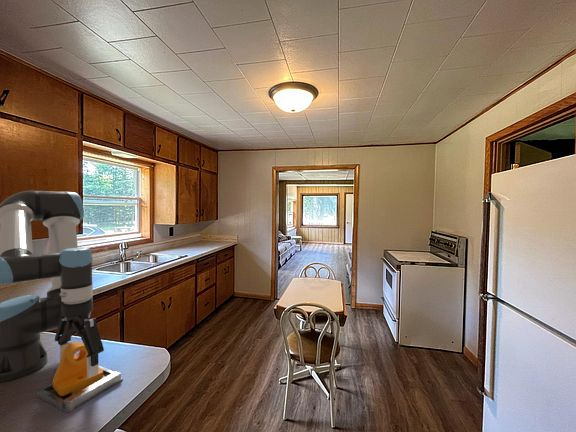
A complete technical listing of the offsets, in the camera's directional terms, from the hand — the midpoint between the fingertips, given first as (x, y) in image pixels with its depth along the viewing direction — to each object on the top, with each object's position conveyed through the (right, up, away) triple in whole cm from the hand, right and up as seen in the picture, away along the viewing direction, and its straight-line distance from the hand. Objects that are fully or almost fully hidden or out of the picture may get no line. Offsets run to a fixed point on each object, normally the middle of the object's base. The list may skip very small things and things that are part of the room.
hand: (79, 370), depth 82 cm
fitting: (+1, -5, 0) cm, 5 cm away
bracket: (0, -5, 0) cm, 5 cm away
